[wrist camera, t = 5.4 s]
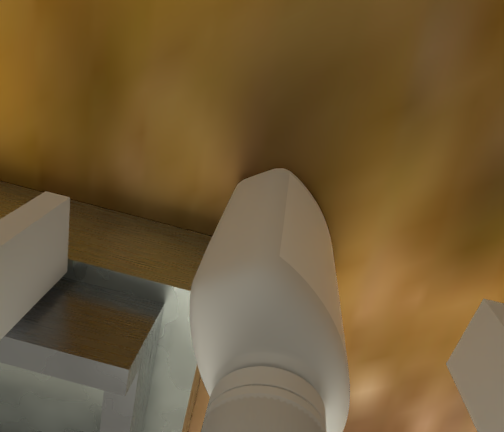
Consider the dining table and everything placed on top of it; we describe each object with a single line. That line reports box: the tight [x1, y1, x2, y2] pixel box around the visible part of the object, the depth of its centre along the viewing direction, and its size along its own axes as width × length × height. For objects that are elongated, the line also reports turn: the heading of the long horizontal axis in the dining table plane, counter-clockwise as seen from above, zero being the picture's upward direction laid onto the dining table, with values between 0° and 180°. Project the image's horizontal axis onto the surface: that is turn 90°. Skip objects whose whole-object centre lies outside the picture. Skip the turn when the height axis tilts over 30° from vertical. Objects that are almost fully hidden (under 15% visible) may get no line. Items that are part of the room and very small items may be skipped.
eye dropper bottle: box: [190, 168, 350, 432], centre depth 11 cm, size 4×6×12 cm
